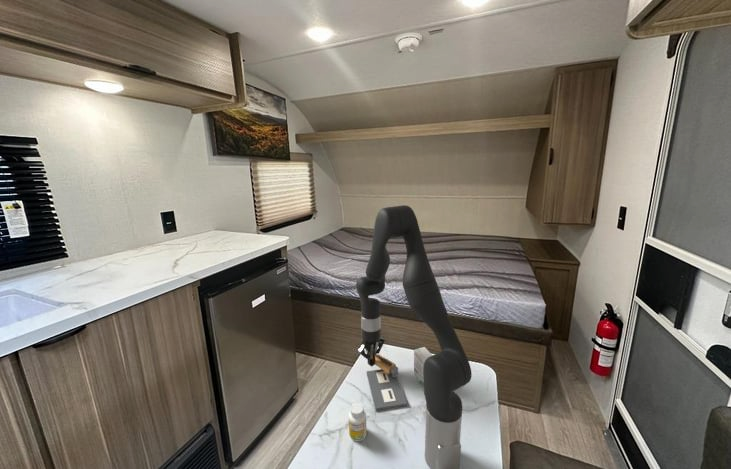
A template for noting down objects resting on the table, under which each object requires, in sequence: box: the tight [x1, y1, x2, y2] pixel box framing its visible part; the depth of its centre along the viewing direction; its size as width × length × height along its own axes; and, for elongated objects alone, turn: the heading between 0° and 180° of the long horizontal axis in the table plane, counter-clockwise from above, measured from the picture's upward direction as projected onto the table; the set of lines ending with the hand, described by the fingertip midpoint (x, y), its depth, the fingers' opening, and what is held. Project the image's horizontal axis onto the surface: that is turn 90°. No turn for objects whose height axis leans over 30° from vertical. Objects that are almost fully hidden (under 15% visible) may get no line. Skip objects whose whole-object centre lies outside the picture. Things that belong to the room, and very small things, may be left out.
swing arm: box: [374, 353, 399, 376], centre depth 112 cm, size 4×11×3 cm, turn 43°
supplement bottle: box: [347, 402, 368, 442], centre depth 87 cm, size 5×5×10 cm
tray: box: [366, 368, 408, 412], centre depth 106 cm, size 18×11×3 cm, turn 10°
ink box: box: [413, 346, 434, 389], centre depth 108 cm, size 8×5×12 cm, turn 21°
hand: (371, 364), depth 113 cm, fingers closed
